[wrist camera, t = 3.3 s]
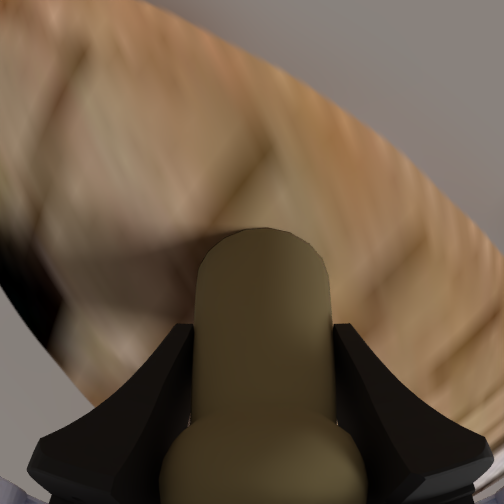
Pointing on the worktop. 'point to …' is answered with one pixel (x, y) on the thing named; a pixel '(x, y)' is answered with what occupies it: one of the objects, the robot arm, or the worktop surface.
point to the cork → (263, 383)
